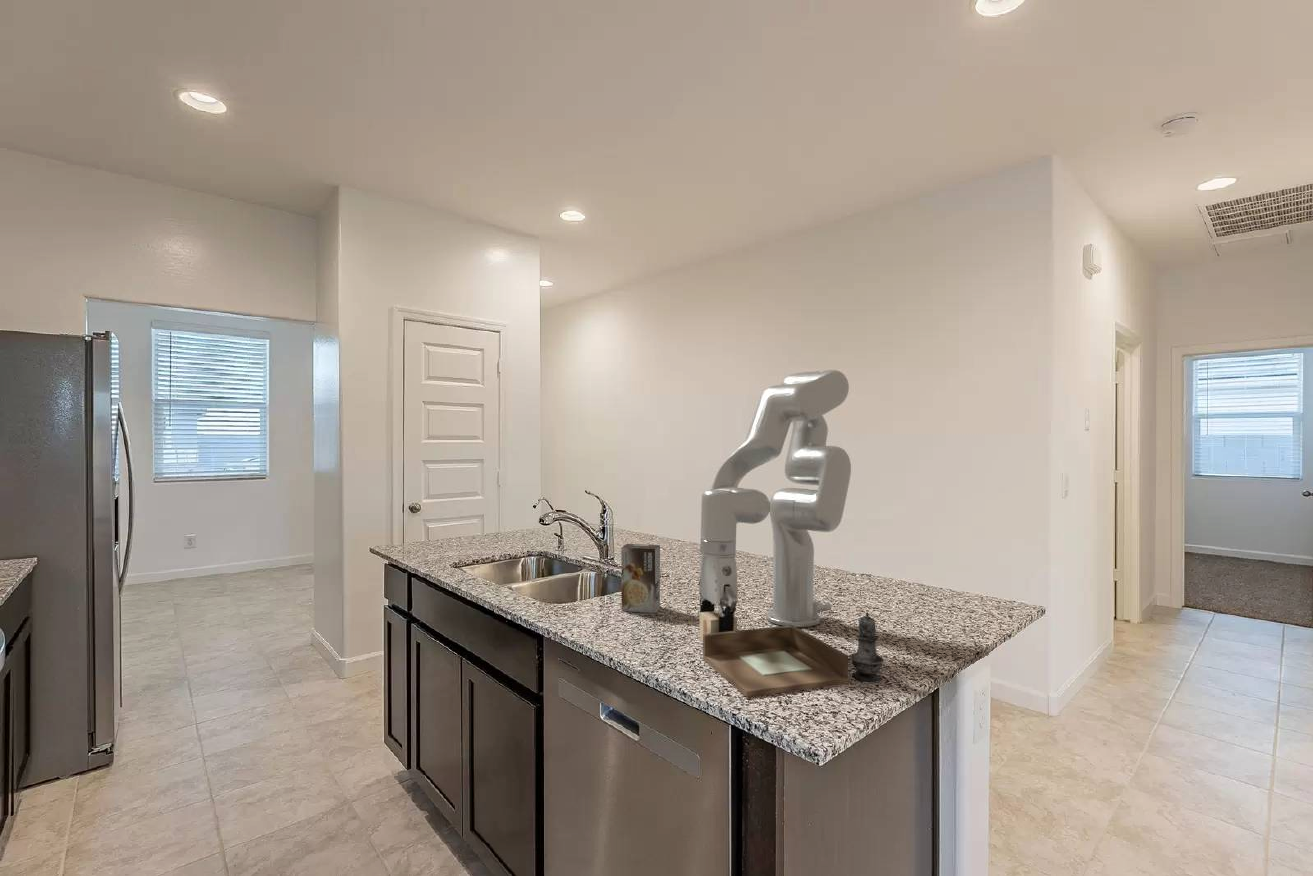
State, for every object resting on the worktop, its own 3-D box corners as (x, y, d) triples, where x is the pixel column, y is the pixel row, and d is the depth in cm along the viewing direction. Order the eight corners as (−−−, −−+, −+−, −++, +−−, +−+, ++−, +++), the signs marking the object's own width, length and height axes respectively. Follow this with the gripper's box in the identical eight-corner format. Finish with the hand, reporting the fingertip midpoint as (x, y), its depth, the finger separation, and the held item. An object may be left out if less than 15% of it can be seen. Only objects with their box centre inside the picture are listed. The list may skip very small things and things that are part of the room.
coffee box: (661, 607, 162) (661, 544, 162) (655, 613, 156) (656, 548, 156) (626, 604, 164) (627, 543, 164) (620, 611, 158) (620, 547, 158)
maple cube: (725, 637, 138) (725, 610, 138) (737, 646, 132) (737, 617, 132) (699, 640, 136) (699, 612, 136) (710, 649, 130) (710, 620, 130)
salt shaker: (844, 672, 117) (845, 607, 117) (875, 671, 118) (875, 607, 118) (857, 684, 112) (858, 616, 112) (889, 683, 112) (890, 616, 112)
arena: (792, 649, 130) (792, 625, 130) (848, 683, 112) (848, 655, 112) (702, 659, 123) (703, 634, 123) (746, 697, 105) (746, 667, 105)
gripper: (752, 554, 127) (750, 640, 126) (717, 541, 143) (715, 617, 143) (718, 555, 124) (716, 642, 124) (686, 542, 141) (684, 619, 140)
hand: (715, 629), depth 133 cm, fingers open, 9 cm apart
